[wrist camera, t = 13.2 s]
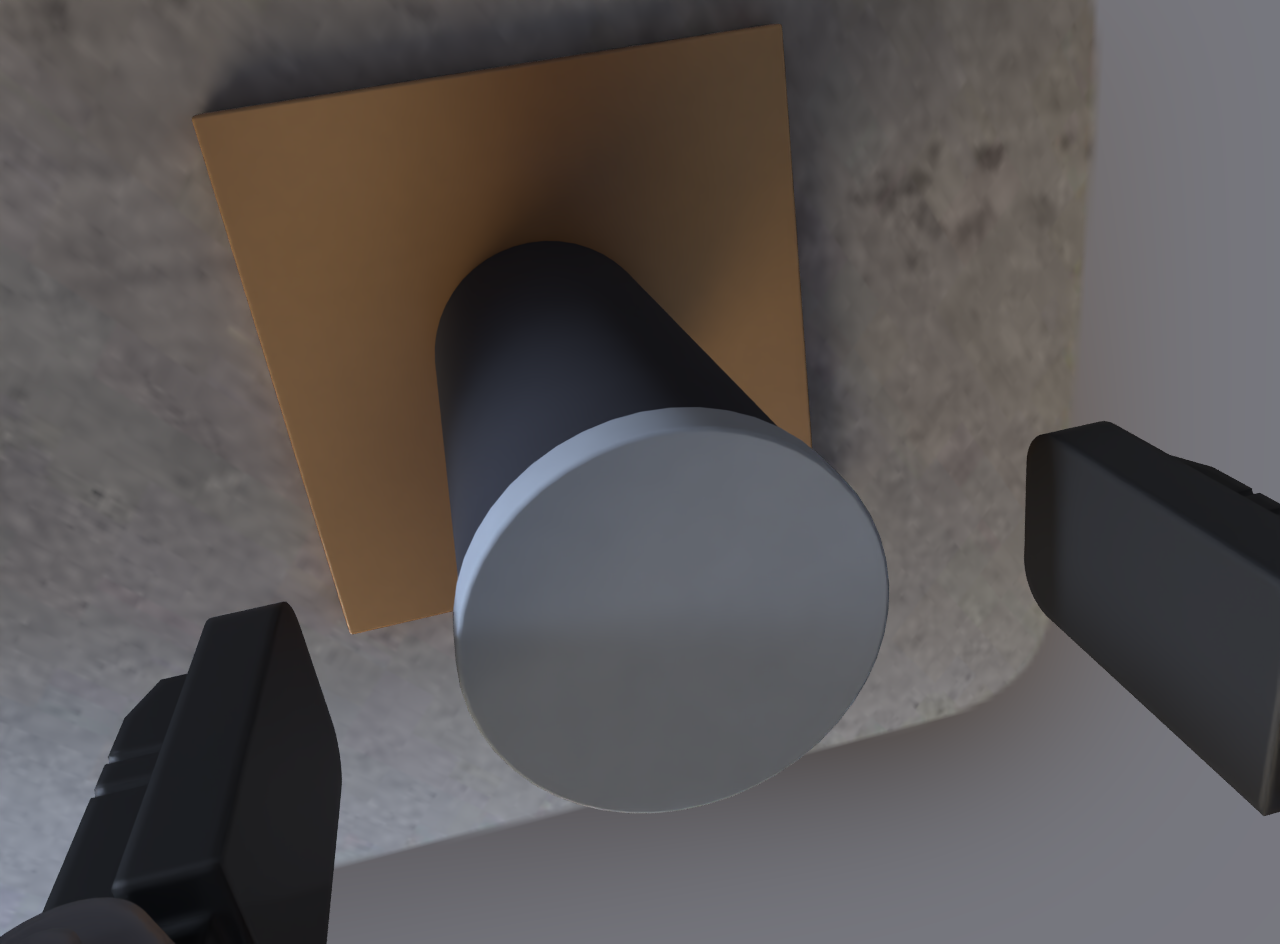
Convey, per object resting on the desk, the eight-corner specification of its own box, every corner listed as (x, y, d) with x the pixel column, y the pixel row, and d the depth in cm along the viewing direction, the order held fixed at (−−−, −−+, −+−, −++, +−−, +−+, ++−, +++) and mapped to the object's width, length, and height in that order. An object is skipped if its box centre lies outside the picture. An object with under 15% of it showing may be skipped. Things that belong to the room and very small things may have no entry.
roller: (646, 215, 18) (883, 383, 9) (676, 436, 20) (897, 756, 11) (404, 259, 18) (408, 483, 9) (456, 483, 20) (504, 860, 11)
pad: (773, 23, 18) (783, 23, 18) (810, 517, 22) (818, 527, 22) (195, 114, 17) (190, 116, 16) (351, 623, 21) (350, 636, 20)
